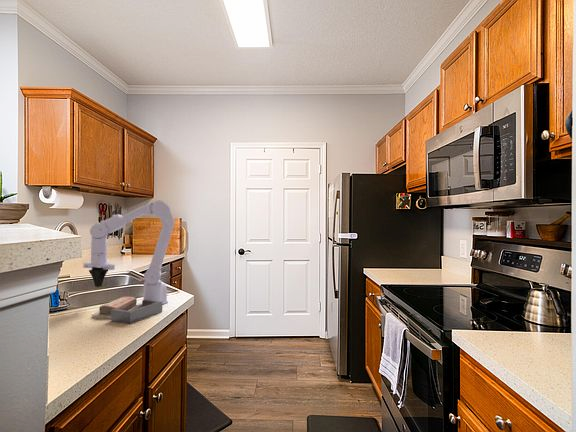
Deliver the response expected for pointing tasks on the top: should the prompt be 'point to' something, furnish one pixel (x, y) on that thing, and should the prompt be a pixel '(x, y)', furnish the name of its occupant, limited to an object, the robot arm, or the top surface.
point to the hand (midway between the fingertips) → (98, 286)
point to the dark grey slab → (137, 312)
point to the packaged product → (116, 307)
